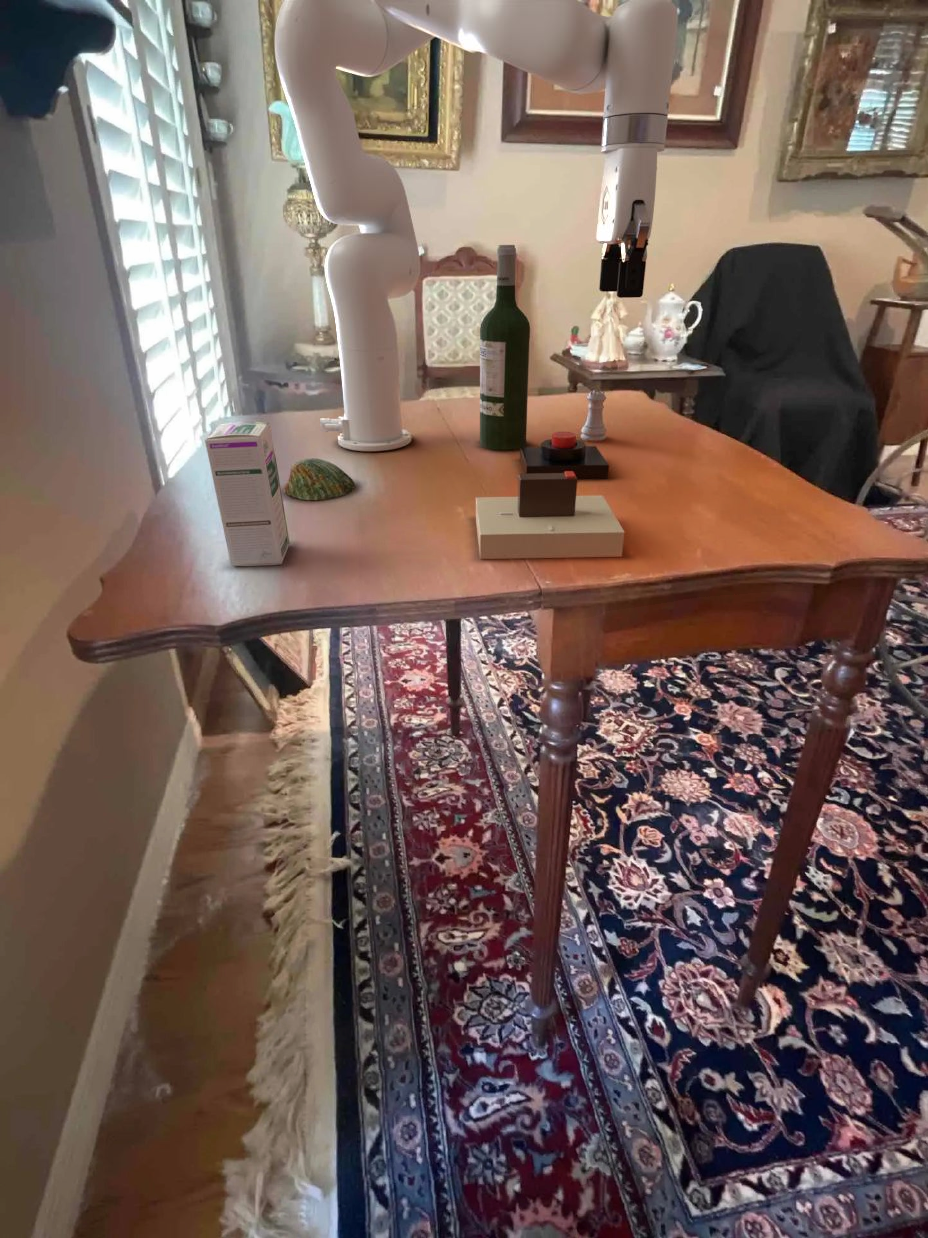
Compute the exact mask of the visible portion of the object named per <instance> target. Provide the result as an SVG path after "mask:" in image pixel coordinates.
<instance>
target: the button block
mask: <svg viewBox="0 0 928 1238" xmlns="http://www.w3.org/2000/svg"><path fill="white" fill-rule="evenodd" d="M551 444H552V438H549V439H545V440H544V441H542V442H541V443H540V446H524V447H520V449H519V462H520V466H521V468H522V472H523V474H538V473H564V471H573V472H574V474H575V475H576V477H577V481H578V480H579V481H580V480H581V481H582V480H585V481H586V480H588V481H589V480H608V479H609V469H610V464H609V462H608V461H607V460H606V459H605V457H604V456H603V454H602V453H601V451H600V450H599V448H598V447H597V446H596V445H587V444H586V443H585V441H583V440H579V439H576V447H571V448H559V447H554V446H551Z"/></svg>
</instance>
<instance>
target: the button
mask: <svg viewBox="0 0 928 1238" xmlns="http://www.w3.org/2000/svg"><path fill="white" fill-rule="evenodd" d="M551 439H552V444H551V446H554V447H559V448H571V447H576V440H577V434H576V433H574V432H570V431H556V432H553V433H552V434H551Z"/></svg>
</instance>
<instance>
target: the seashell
mask: <svg viewBox="0 0 928 1238" xmlns="http://www.w3.org/2000/svg"><path fill="white" fill-rule="evenodd" d="M287 481H288V482H286V484H285V485H284V487H283V492H284V494H286V495H288V496H289V497H292V498H293V499H299V500H306V501H321V500H322V501H323V500H324V501H325V500H328V499H335V498H338V497H339V498H340V497H341V496H345V495H346V494H349V493H350V492H352V490H354V489H355V488H356V484H355V483H356V482H354V480H353V479H352V478H351V476H350V475H348V474H347V473H346V472H345V471H344V470H343V469H342V468H340V467H339V466H338V465H336V464H334V463H332V462H330V461H327V460H324V459H321V458H306V459H305V458H304V459H302V460H301V459H300V460H298V461H295V462H294V463H293V464H292V465H291V467H290V471H289V476H288V480H287Z"/></svg>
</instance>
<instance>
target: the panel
mask: <svg viewBox="0 0 928 1238" xmlns="http://www.w3.org/2000/svg"><path fill="white" fill-rule="evenodd" d="M517 508H518V496H480V497H479V496H478V497H475V523H476V524H475V525H476V533H477V542H478V551H479V552H478V553H479V559H480V560H500V559H501V560H502V559H503V560H505V559H506V560H508V559H514V560H515V559H561V558H566V559H567V558H568V559H569V558H570V559H571V558H614V557H616V558H618V557H623V550H624V540H625V530H624V529H623V527H622V525H621V523H620V522H619V520H618V519H617V516H616V515H615V513H614V512H613V510H612V508H611V507H610V505H609V503H608V501H607V500H606V498H605V497H604V495H601V494H600V495H598V494H597V495H576V504H575V515H574V516H534V517H519V514H518V510H517Z"/></svg>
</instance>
